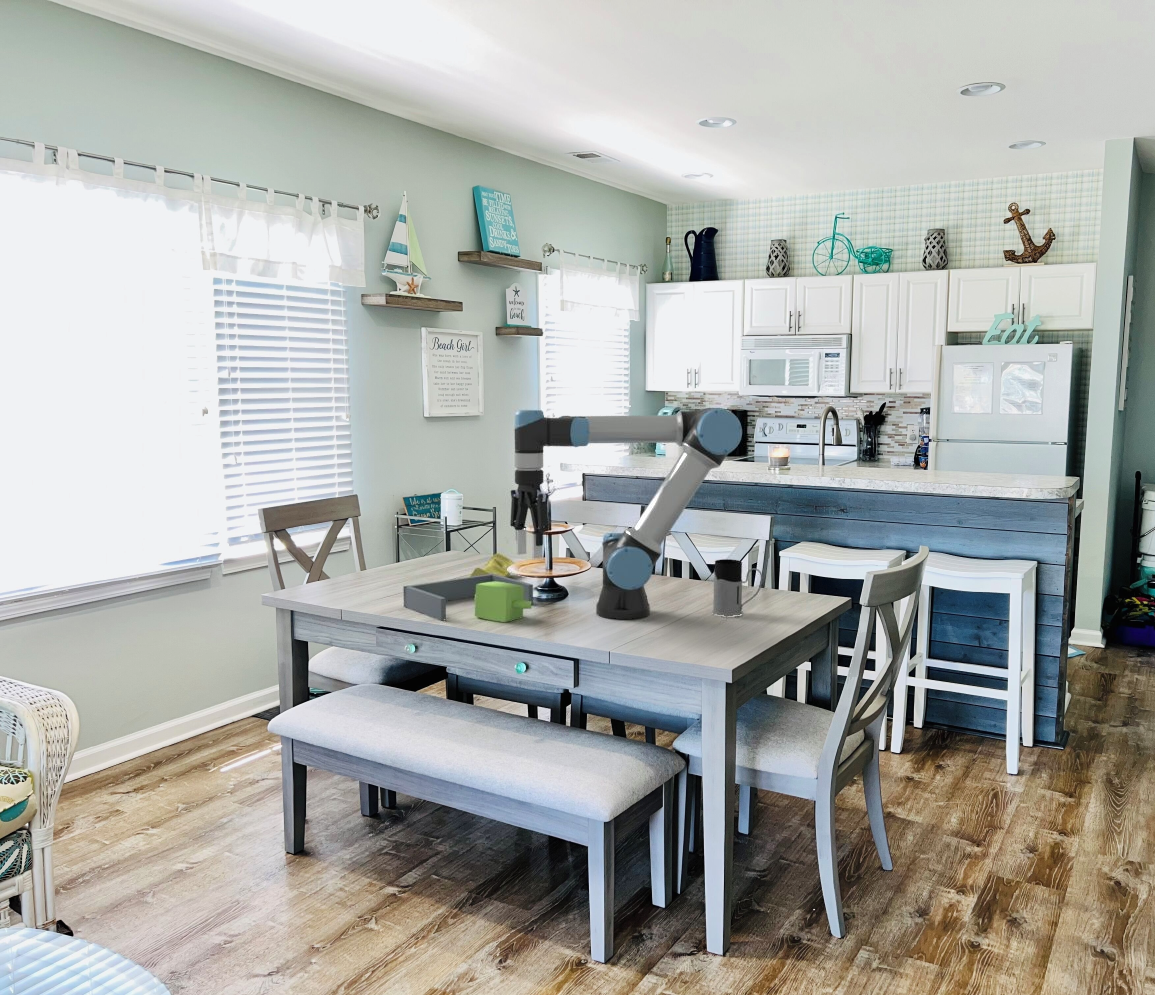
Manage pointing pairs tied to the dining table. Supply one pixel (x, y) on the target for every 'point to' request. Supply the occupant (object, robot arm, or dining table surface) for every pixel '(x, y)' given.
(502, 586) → the gearbox
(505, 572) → the yellow crumpled cloth
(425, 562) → the dining table surface
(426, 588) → the grey low frame
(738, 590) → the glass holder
